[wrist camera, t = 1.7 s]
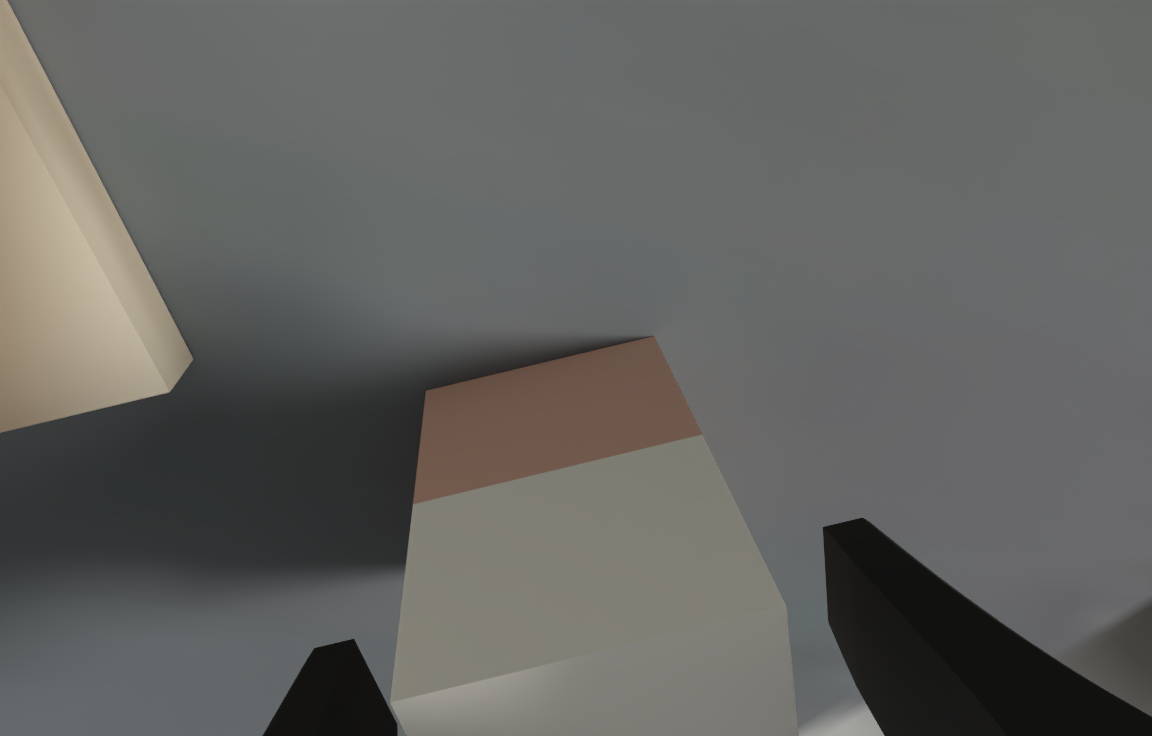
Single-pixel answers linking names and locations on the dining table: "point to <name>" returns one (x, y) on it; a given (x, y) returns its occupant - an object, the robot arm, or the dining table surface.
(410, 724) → the white brown rectangular block
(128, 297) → the board
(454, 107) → the dining table surface
